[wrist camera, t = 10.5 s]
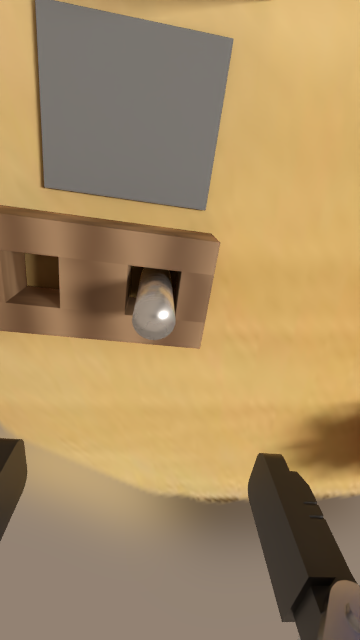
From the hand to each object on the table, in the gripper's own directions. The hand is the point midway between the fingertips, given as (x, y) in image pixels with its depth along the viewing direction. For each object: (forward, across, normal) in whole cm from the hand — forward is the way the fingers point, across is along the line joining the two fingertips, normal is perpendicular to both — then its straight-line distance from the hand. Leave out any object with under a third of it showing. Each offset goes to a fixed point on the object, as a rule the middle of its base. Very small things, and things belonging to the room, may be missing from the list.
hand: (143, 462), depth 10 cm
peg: (+21, 0, 0) cm, 21 cm away
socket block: (+21, +5, 0) cm, 22 cm away
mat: (+21, +3, -13) cm, 25 cm away
